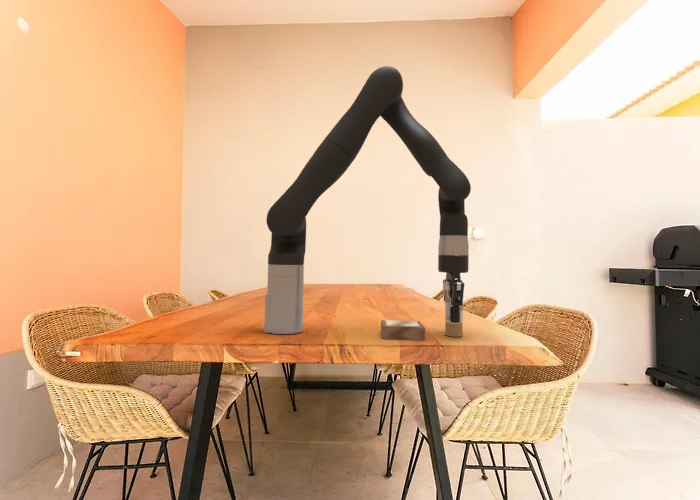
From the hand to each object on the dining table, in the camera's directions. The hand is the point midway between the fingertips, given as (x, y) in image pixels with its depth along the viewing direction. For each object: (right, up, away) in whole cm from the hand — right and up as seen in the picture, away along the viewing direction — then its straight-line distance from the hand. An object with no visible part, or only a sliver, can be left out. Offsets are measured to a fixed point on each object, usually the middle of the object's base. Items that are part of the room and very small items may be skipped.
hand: (452, 320), depth 104 cm
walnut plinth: (-13, -4, -2) cm, 14 cm away
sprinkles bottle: (0, -4, 0) cm, 4 cm away
